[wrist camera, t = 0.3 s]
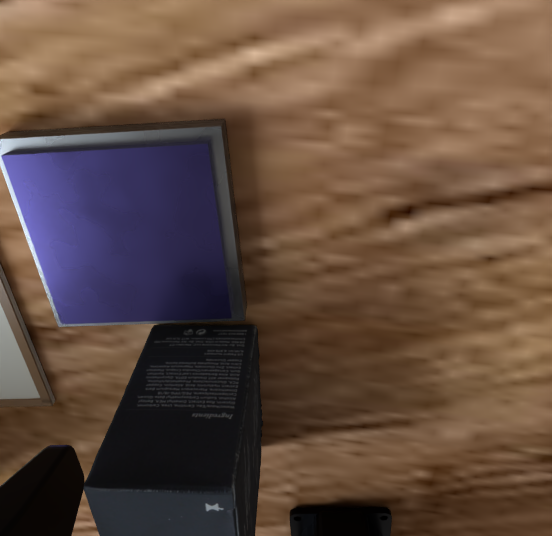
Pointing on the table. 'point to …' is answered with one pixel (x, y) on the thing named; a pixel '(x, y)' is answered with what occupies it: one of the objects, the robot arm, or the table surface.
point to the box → (184, 438)
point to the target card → (19, 358)
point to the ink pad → (130, 221)
